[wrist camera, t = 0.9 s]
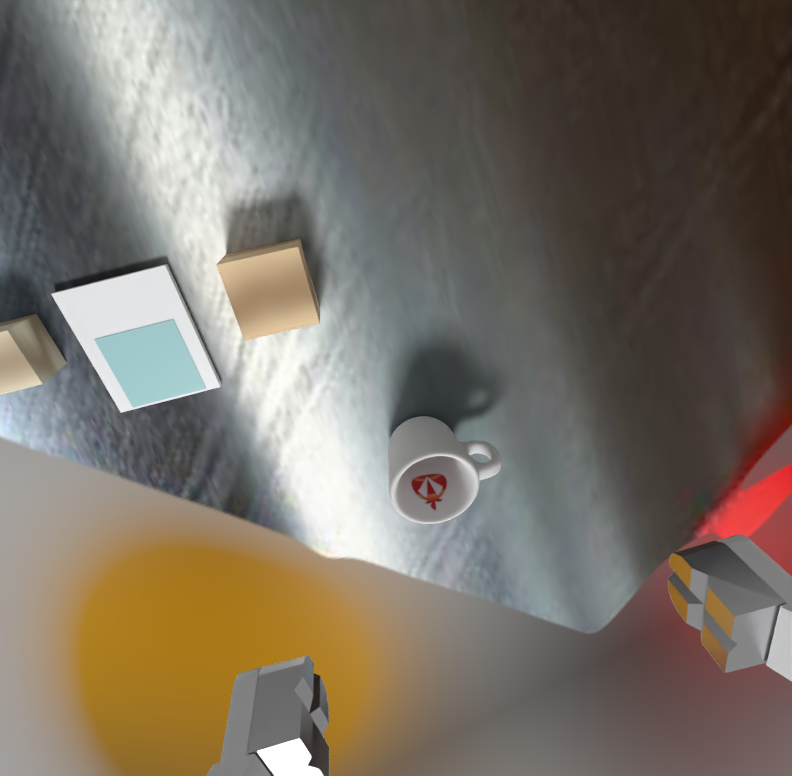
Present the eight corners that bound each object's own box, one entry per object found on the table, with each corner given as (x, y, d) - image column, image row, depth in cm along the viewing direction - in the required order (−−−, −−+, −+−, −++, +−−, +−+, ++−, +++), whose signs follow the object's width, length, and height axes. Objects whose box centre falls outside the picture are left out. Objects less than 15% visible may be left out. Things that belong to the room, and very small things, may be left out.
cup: (484, 396, 46) (513, 440, 39) (484, 461, 50) (510, 512, 43) (376, 411, 46) (385, 459, 39) (384, 476, 49) (394, 531, 42)
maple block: (-19, 327, 37) (-55, 346, 34) (37, 313, 37) (7, 330, 34) (15, 376, 39) (-16, 398, 36) (67, 363, 40) (42, 383, 36)
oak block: (226, 253, 37) (216, 264, 34) (300, 237, 38) (298, 246, 34) (251, 323, 40) (244, 340, 37) (320, 307, 40) (319, 323, 37)
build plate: (55, 291, 37) (50, 294, 36) (167, 263, 37) (164, 265, 36) (123, 409, 42) (120, 412, 41) (221, 383, 42) (220, 387, 42)
